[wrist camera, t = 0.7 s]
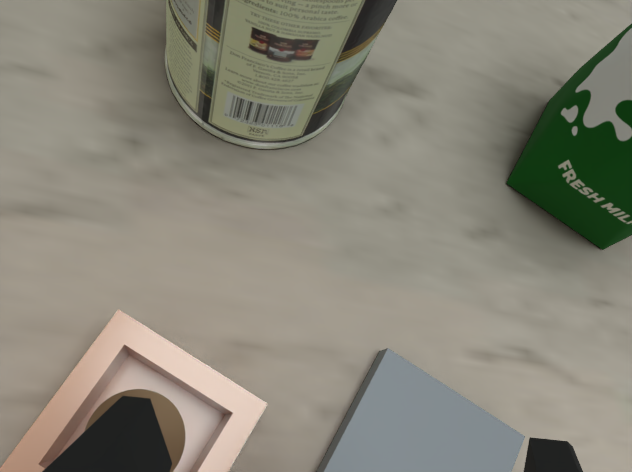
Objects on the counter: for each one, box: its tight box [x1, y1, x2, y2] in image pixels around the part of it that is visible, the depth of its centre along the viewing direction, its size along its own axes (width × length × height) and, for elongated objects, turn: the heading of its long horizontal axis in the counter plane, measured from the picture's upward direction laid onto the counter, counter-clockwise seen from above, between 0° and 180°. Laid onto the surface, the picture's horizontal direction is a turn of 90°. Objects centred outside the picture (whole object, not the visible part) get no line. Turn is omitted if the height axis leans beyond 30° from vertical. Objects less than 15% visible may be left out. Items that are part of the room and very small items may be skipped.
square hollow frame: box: [0, 309, 267, 472], centre depth 24 cm, size 7×7×4 cm
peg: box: [84, 389, 185, 472], centre depth 22 cm, size 3×3×8 cm
